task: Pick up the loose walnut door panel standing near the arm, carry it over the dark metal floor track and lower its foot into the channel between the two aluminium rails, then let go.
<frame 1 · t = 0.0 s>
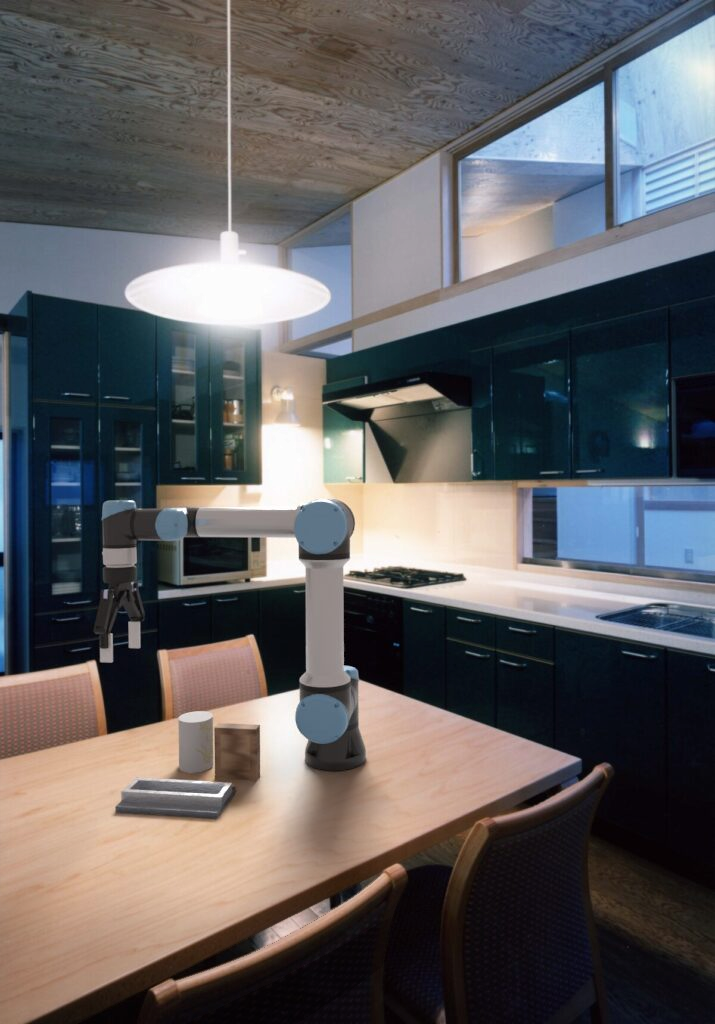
hand: (121, 654, 155), 28 cm above the table, fingers open, 13 cm apart
yellow-veined white cylinder: (196, 766, 159), on the table
door panel: (237, 777, 152), on the table
track: (177, 801, 140), on the table
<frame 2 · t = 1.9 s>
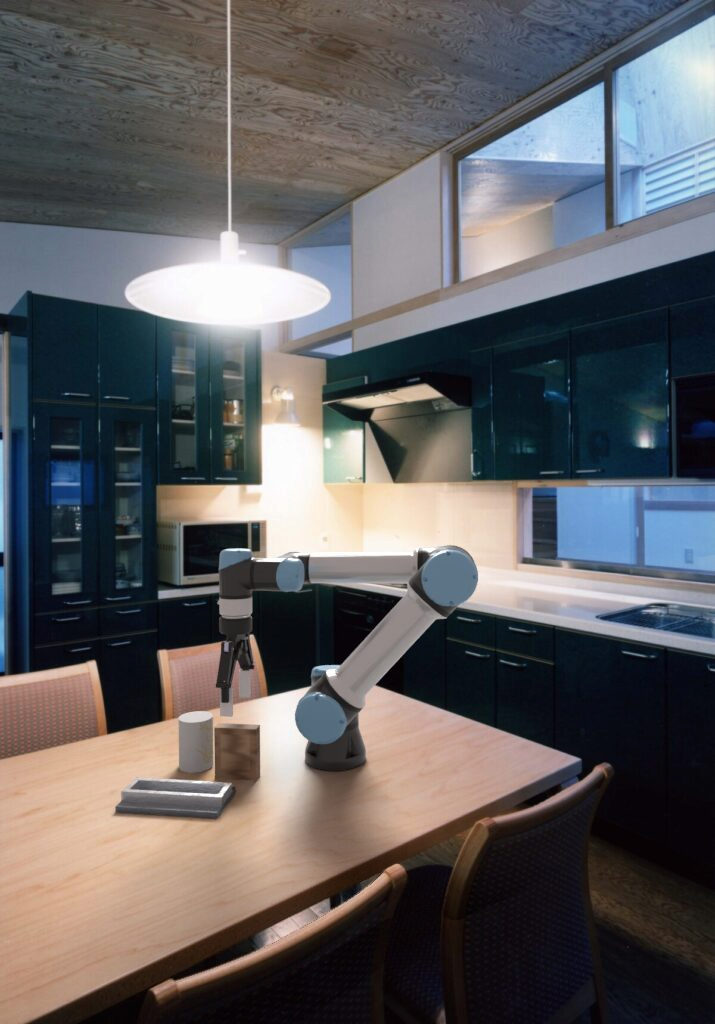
hand: (236, 706, 152), 17 cm above the table, fingers open, 13 cm apart
nothing on the table moved.
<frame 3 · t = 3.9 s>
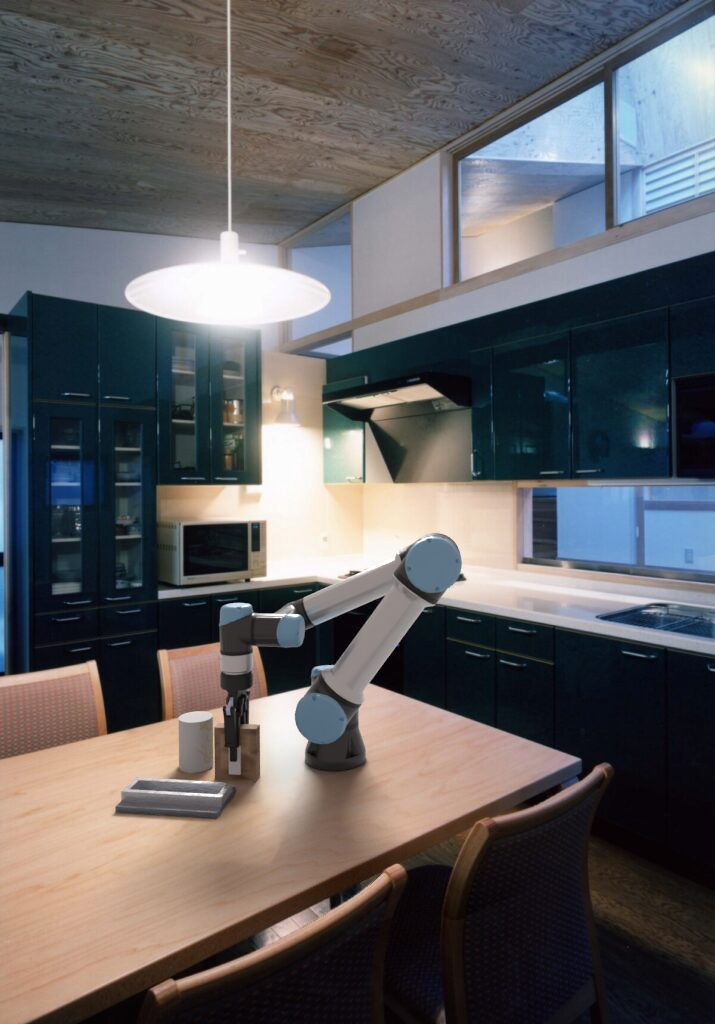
hand: (237, 769, 152), 2 cm above the table, fingers closed on door panel, 3 cm apart
door panel: (237, 776, 152), on the table, touching gripper
everything else where it was.
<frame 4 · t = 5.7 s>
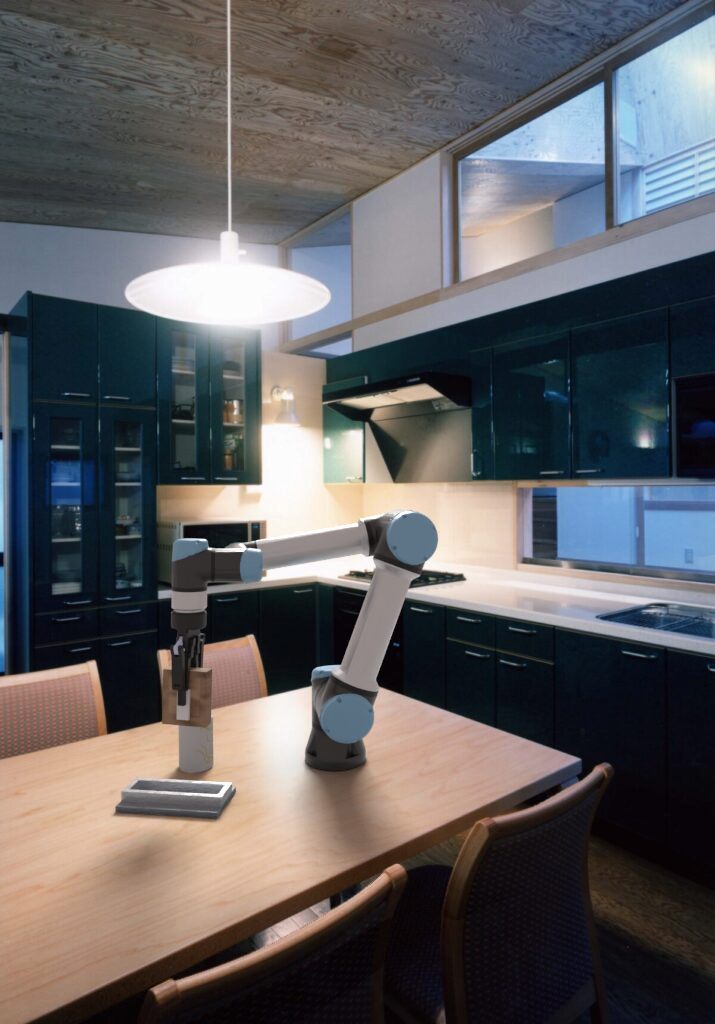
hand: (186, 716, 143), 18 cm above the table, fingers closed on door panel, 3 cm apart
door panel: (186, 723, 143), point 16 cm above the table, touching gripper
everything else where it was.
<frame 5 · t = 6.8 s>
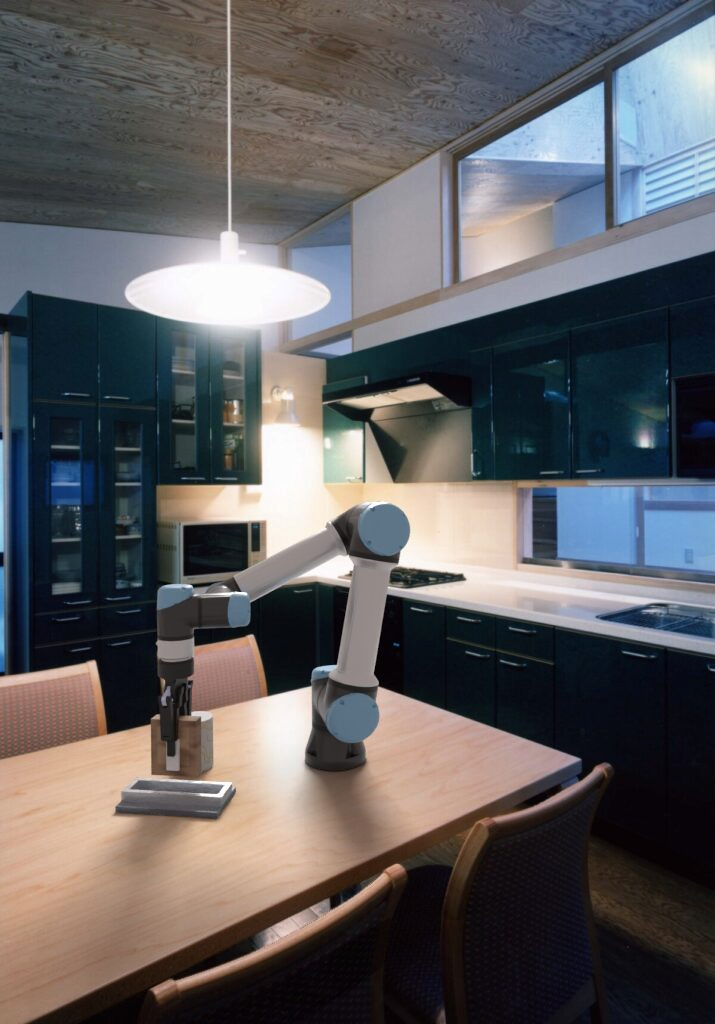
hand: (176, 765, 140), 8 cm above the table, fingers closed on door panel, 3 cm apart
door panel: (176, 773, 140), point 6 cm above the table, touching gripper
everything else where it was.
when the fingers open (4 cm above the table, at t = 7.7 s): door panel drops 1 cm, resting on track.
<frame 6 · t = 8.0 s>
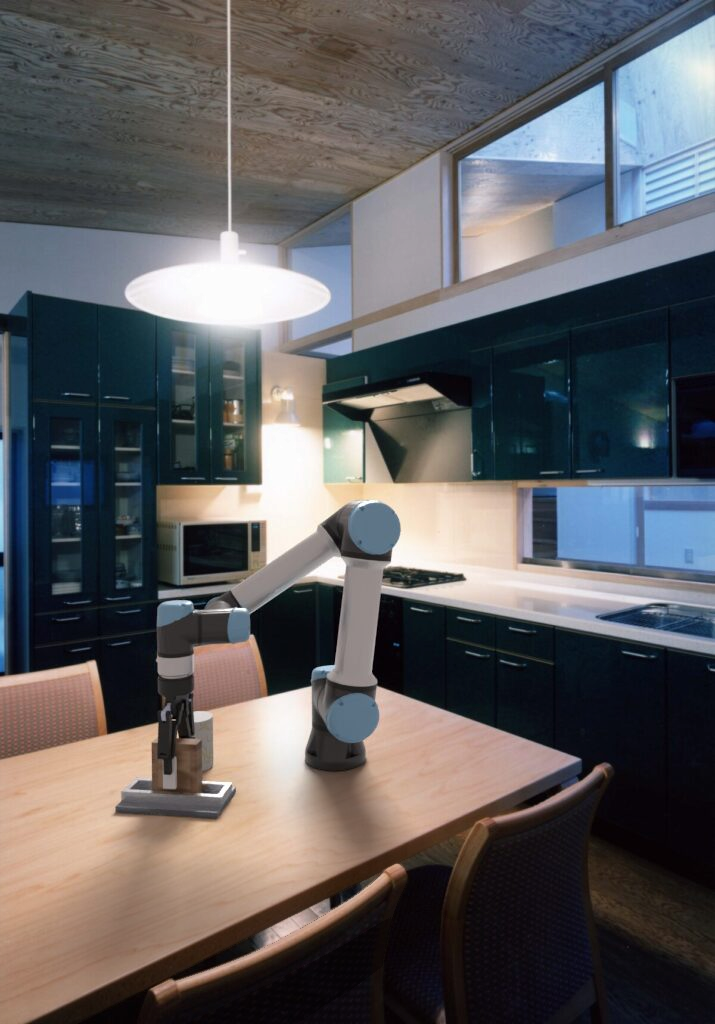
hand: (177, 779, 140), 5 cm above the table, fingers open, 7 cm apart
door panel: (177, 796, 140), point 1 cm above the table, touching track
everything else where it was.
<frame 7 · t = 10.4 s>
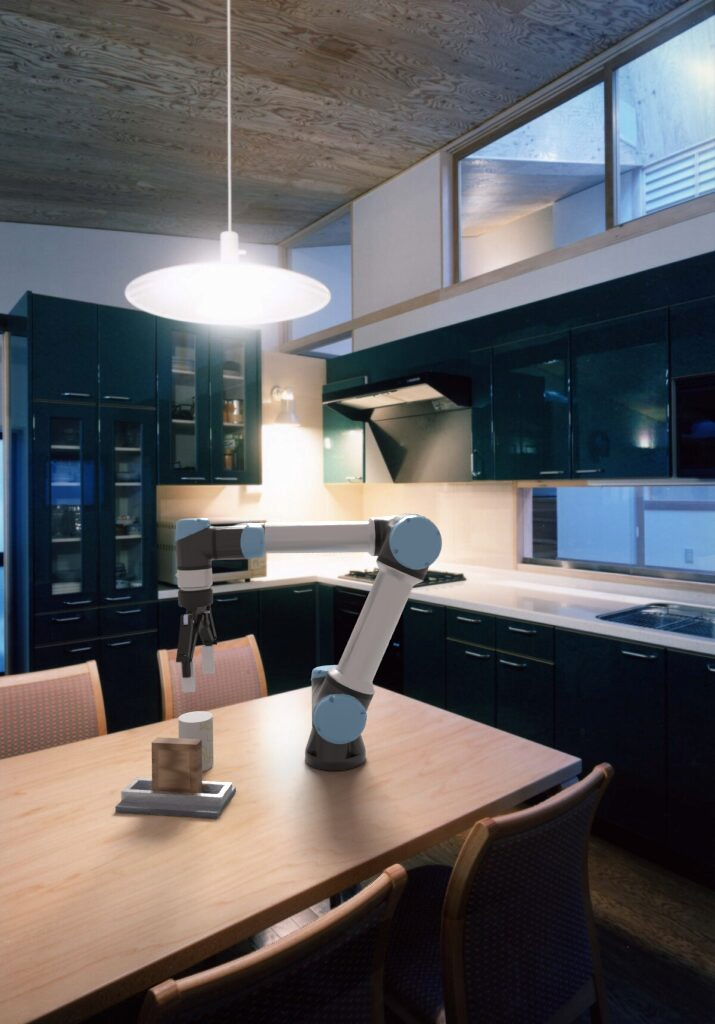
hand: (199, 682, 146), 24 cm above the table, fingers open, 13 cm apart
nothing on the table moved.
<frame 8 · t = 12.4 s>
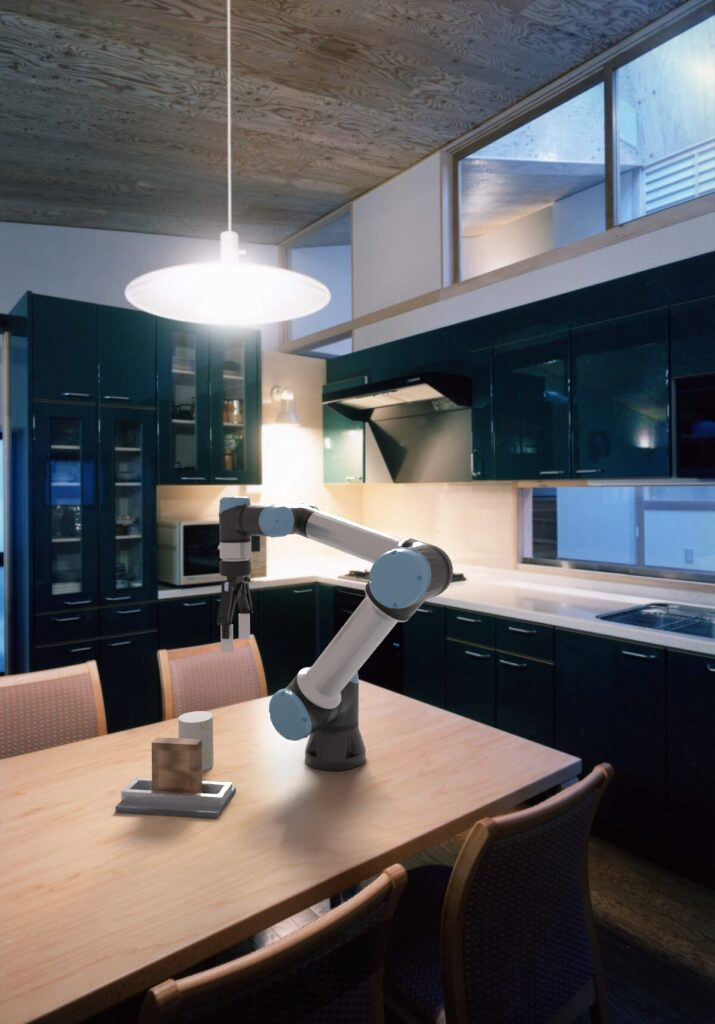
hand: (236, 645, 161), 29 cm above the table, fingers open, 13 cm apart
nothing on the table moved.
at the end: door panel inside the target area on the track (0.0 cm from its centre), point 1.2 cm above the track's base; door panel tilted 0°; the gripper is holding nothing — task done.
